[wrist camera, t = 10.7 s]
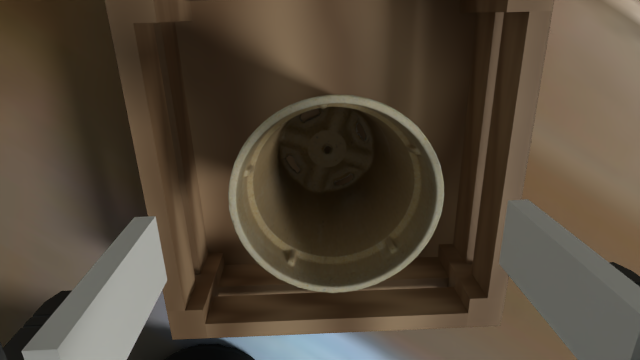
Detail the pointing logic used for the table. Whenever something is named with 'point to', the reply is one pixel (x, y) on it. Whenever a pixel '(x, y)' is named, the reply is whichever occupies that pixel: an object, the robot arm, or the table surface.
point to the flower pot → (336, 194)
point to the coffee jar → (209, 353)
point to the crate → (319, 80)
